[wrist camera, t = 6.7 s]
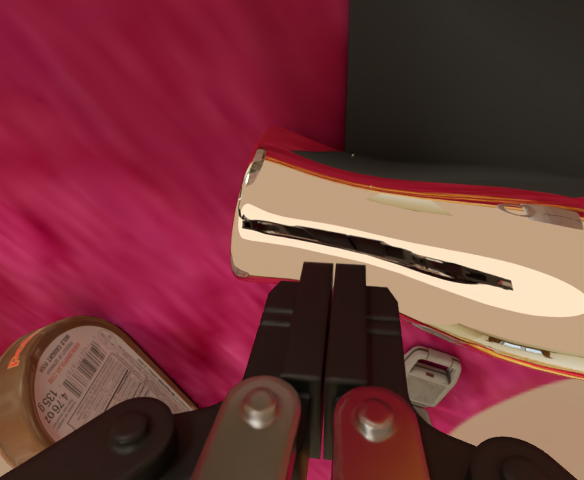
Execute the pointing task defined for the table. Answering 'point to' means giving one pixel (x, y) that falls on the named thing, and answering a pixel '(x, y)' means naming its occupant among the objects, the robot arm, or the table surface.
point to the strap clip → (429, 378)
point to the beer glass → (426, 242)
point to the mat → (467, 83)
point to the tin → (72, 383)
